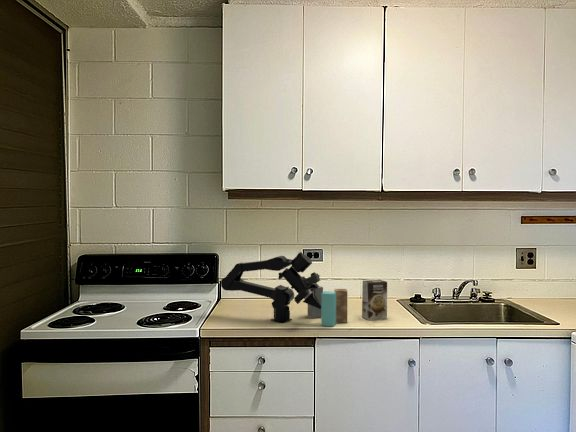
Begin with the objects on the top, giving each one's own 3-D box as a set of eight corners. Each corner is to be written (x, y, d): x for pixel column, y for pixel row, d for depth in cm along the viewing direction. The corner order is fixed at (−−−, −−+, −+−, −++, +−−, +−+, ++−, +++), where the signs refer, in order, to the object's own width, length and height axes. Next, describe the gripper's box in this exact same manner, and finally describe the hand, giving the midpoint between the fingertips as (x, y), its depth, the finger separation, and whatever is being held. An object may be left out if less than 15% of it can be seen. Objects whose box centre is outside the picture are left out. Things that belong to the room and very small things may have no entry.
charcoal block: (312, 318, 191) (312, 288, 190) (307, 315, 195) (307, 286, 195) (323, 316, 193) (323, 287, 192) (317, 314, 197) (317, 285, 197)
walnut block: (335, 322, 184) (335, 291, 184) (334, 319, 189) (334, 288, 189) (347, 322, 184) (347, 291, 183) (346, 319, 189) (346, 288, 188)
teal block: (321, 325, 179) (321, 293, 179) (324, 322, 184) (324, 291, 184) (333, 326, 178) (333, 294, 177) (336, 323, 182) (336, 291, 182)
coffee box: (368, 320, 187) (368, 282, 187) (361, 317, 193) (361, 280, 193) (387, 319, 190) (387, 281, 189) (380, 315, 196) (380, 279, 195)
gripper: (301, 270, 174) (329, 299, 171) (314, 264, 192) (339, 290, 189) (283, 289, 177) (309, 318, 174) (297, 281, 195) (321, 308, 191)
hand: (321, 308), depth 182 cm, fingers closed
